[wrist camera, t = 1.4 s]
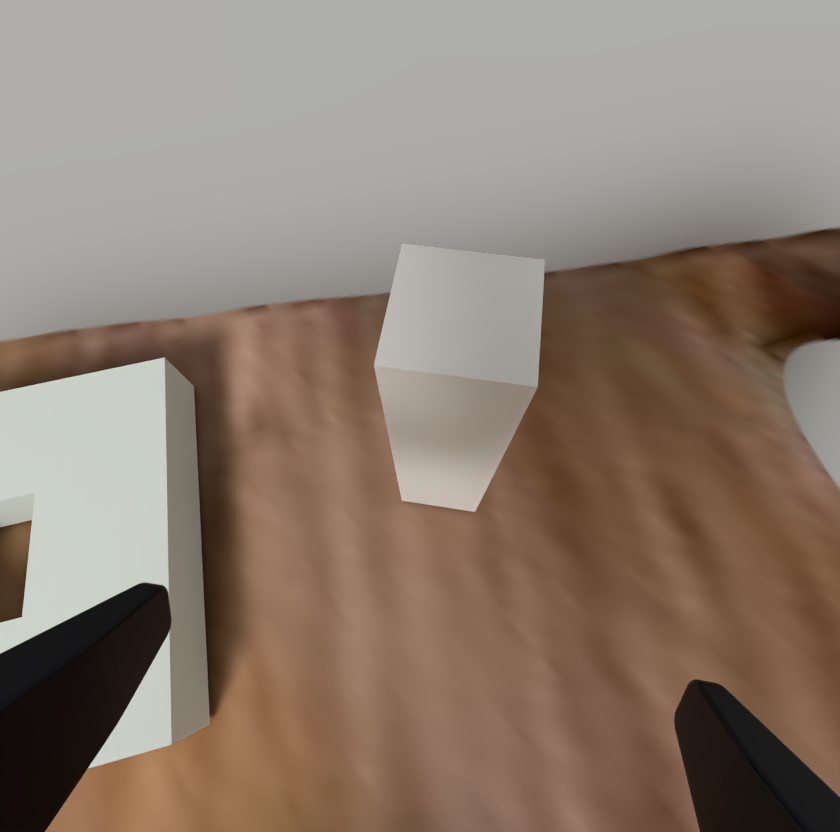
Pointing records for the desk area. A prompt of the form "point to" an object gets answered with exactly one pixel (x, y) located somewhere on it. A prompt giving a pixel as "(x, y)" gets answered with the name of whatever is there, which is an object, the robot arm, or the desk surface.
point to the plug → (457, 367)
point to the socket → (112, 525)
